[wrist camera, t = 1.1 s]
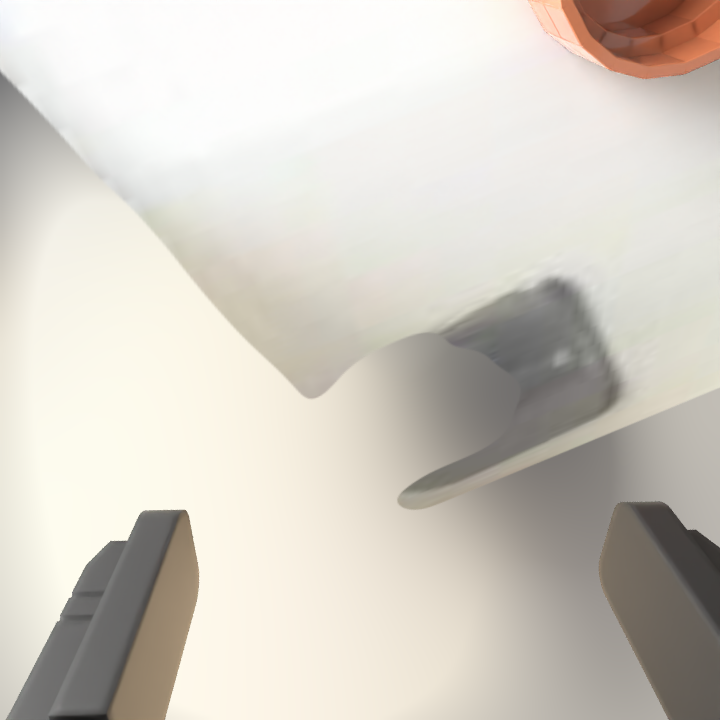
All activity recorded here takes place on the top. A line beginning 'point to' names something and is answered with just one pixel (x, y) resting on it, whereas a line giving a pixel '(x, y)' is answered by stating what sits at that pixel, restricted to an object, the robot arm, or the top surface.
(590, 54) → the bowl
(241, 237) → the top surface
